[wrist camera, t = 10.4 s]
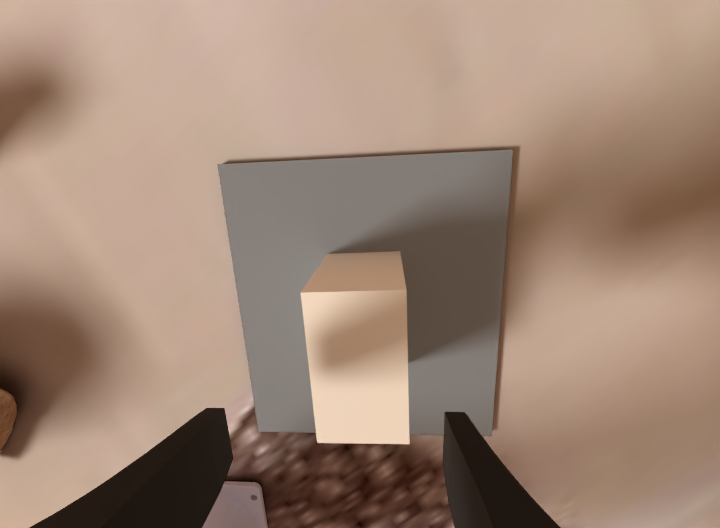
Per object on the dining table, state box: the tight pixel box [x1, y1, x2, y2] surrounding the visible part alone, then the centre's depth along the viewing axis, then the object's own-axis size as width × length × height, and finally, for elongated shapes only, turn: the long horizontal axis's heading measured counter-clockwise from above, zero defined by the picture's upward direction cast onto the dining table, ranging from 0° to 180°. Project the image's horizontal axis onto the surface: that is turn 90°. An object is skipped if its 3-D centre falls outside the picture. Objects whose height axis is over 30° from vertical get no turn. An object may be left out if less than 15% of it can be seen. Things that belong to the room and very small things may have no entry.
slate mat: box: [218, 150, 513, 436], centre depth 19 cm, size 17×15×1 cm
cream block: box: [301, 251, 409, 444], centre depth 16 cm, size 4×7×6 cm, turn 3°
